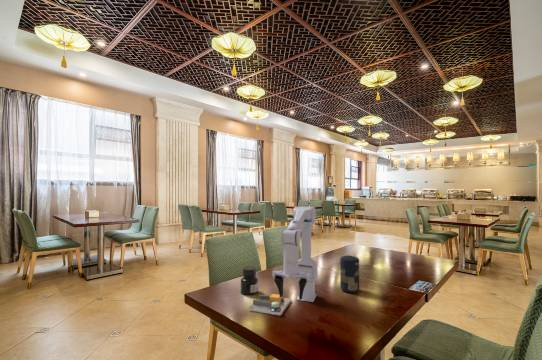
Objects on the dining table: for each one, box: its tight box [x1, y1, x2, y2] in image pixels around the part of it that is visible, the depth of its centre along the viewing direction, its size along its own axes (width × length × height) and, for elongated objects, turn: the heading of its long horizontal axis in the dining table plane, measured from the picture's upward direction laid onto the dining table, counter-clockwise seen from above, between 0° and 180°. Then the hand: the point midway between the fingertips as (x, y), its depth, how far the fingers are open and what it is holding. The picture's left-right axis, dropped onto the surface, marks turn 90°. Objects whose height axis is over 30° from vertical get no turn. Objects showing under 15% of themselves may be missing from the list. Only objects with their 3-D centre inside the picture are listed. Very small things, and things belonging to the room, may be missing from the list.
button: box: [271, 302, 279, 308], centre depth 112 cm, size 3×3×1 cm
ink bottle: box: [240, 266, 259, 296], centre depth 136 cm, size 10×9×12 cm
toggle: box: [269, 293, 281, 304], centre depth 118 cm, size 4×4×3 cm
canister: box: [339, 254, 360, 294], centre depth 139 cm, size 10×10×18 cm
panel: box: [249, 294, 292, 317], centre depth 119 cm, size 16×14×3 cm
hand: (291, 297), depth 102 cm, fingers open, 7 cm apart
